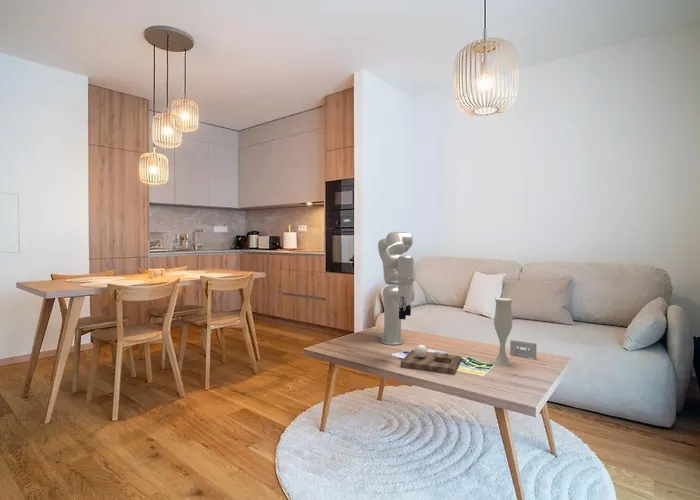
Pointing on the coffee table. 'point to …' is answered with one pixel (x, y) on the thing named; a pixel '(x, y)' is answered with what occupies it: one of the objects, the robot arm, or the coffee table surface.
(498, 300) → the vase
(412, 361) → the board
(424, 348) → the ball
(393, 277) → the robot arm
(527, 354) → the cassette
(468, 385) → the coffee table surface
